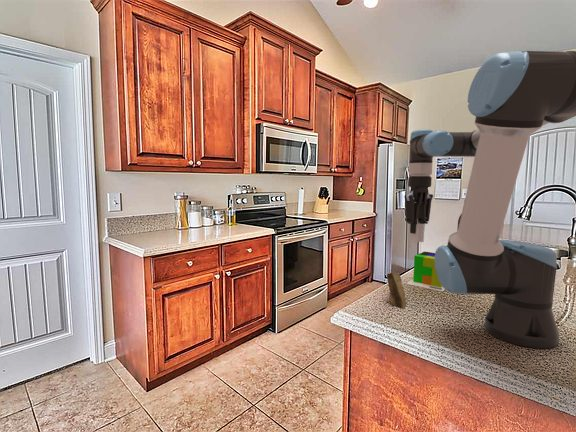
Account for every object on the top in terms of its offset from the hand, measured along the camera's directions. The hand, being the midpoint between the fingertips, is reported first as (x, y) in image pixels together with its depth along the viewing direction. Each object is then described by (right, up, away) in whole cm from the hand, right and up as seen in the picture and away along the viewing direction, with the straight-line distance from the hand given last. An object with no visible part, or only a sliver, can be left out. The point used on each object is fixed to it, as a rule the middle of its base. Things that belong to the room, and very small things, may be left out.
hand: (416, 241), depth 116 cm
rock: (-11, -18, -12) cm, 24 cm away
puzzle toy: (+9, -16, +8) cm, 20 cm away
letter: (+9, -16, +8) cm, 20 cm away
